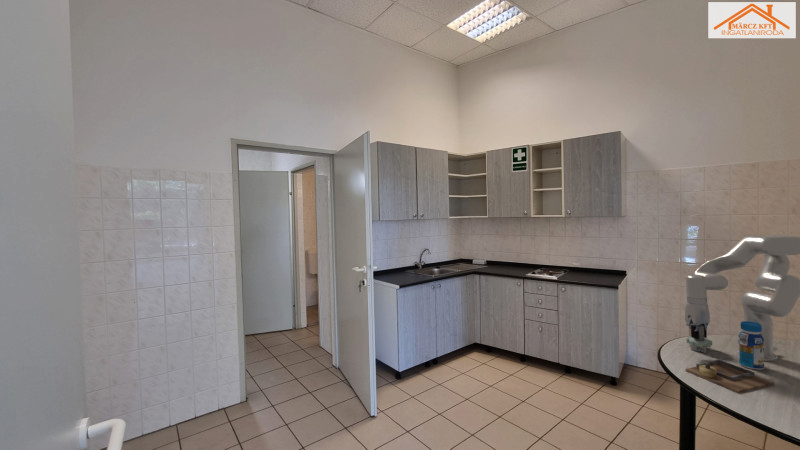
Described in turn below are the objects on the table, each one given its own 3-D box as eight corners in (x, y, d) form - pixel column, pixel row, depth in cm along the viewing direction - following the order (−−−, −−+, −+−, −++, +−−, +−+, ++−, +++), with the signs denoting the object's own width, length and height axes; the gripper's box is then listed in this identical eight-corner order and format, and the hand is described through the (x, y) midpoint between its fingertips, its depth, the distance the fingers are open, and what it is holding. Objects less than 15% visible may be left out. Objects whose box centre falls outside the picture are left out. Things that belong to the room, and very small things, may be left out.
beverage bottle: (736, 360, 162) (736, 319, 161) (761, 364, 157) (761, 322, 157) (740, 367, 155) (740, 324, 155) (767, 372, 150) (767, 327, 150)
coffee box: (688, 344, 183) (688, 314, 182) (704, 346, 179) (704, 316, 179) (690, 350, 176) (690, 319, 175) (707, 352, 172) (706, 321, 171)
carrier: (718, 364, 160) (718, 351, 159) (773, 384, 140) (773, 370, 140) (685, 370, 155) (685, 358, 155) (738, 393, 136) (738, 378, 135)
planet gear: (696, 338, 171) (695, 321, 171) (717, 345, 162) (716, 327, 162) (681, 342, 169) (680, 324, 169) (702, 349, 160) (701, 330, 159)
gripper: (701, 296, 170) (703, 332, 171) (675, 301, 166) (677, 337, 167) (718, 299, 163) (720, 337, 164) (691, 304, 159) (694, 343, 160)
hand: (699, 337), depth 165 cm, fingers closed on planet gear, 4 cm apart
